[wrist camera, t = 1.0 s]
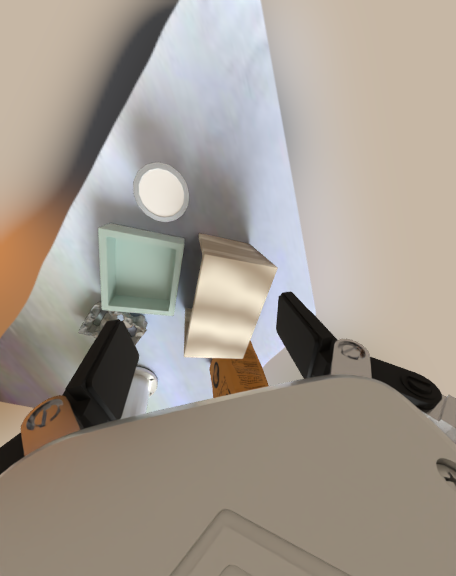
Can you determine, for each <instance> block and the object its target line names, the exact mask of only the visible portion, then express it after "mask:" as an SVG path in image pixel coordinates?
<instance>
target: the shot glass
mask: <svg viewBox="0 0 456 576" xmlns="http://www.w3.org/2000/svg"><path fill="white" fill-rule="evenodd" d="M133 189H134V196H135V199H136V201H137V204H138V206H139V207H140V208H141V209H142V211H143V212H144V213H145V214H146V215H147V216H149V217H151V218H152V219H154V220H156V221H162V222H169V221H174V220H177V219H178V218H179V217H180V216H182V215H183V214H184V212H185V210H186V208H187V207H188V203H189V191H188V187H187V184H186V182H185V180H184V179H183V177H182V176H181V174H180V173H179V172H178V171H177V170H175V169H174V168H173V167H171V166H170V165H167V164H163V163H159V162H155V163H150V164H146V165H145V166H144V167H143V168H141V169H140V170H139V171H138V172H137V175H136V177H135V179H134V182H133Z"/></svg>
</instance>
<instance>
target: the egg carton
mask: <svg viewBox="0 0 456 576" xmlns="http://www.w3.org/2000/svg"><path fill="white" fill-rule="evenodd" d="M101 307H102V303H100V302H98V303H97V304H94V306H93V307H92V309H91V311H90V313H89V314H88V315H87V317H86V319H85V321H84V322H83V323H82V325H81V327H80V329H79V332H78V333H80V334H85V335H91V336H94V338H96V337H97V336H98V335H99V333H100V331H101V330H102V328H103V326H104V325H105V323H106V322H107V321H111V320H117V315H120V314H122V315H123V318H124V320H123V322H124V323H125V325H126V328H131V327H132V326H133V325H134V326H135V327H136V328H137V331H136V334H135V336H133V337H131V338H132V341H133V343H134V345H136V343H137V342H138V341H139V339H140V338H141V337H142V336H143V334H144V333H145V332H146V330H147V329H146V326H147V322H146V321H145V317H144V316H142V315H140V316H137V317H134V316H131V315H130V314H129V312H120V311H108V313H107V314H105V316H104V317H103V319H102V320H101V322H100V324H101V325H99V326H96V325H93V321H94V320H95V319H96V317H97V316H98V314H99V313H100V308H101ZM145 329H146V330H145Z"/></svg>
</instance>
